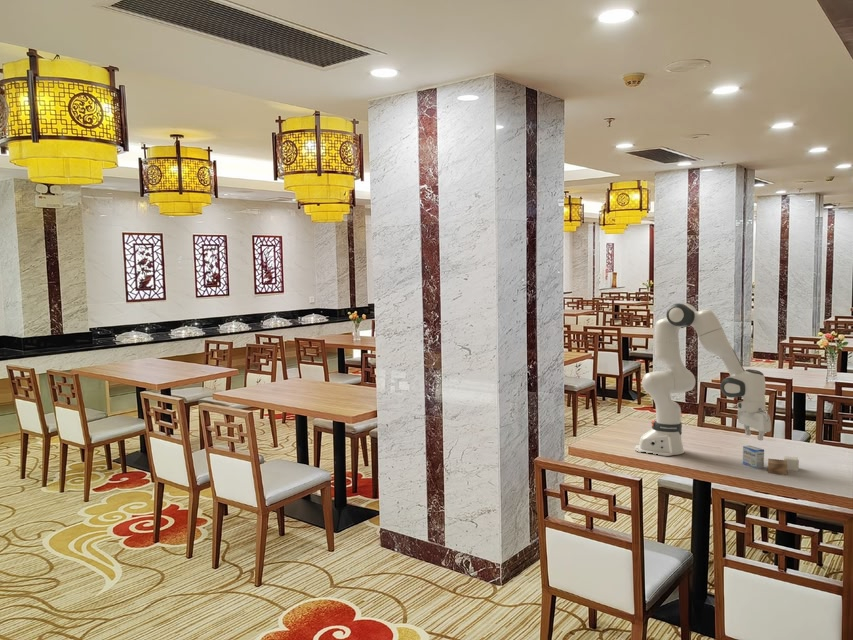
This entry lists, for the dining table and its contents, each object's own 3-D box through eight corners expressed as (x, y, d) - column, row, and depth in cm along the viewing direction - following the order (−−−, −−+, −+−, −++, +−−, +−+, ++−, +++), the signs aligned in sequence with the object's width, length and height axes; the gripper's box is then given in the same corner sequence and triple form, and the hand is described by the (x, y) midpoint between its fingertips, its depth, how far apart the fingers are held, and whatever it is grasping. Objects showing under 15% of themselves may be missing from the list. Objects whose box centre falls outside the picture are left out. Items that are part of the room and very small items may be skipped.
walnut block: (768, 474, 285) (768, 462, 285) (768, 469, 291) (768, 458, 291) (786, 476, 282) (787, 464, 282) (786, 471, 288) (786, 460, 288)
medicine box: (742, 465, 298) (742, 446, 298) (749, 463, 300) (750, 444, 299) (756, 469, 291) (756, 450, 290) (764, 468, 293) (764, 449, 292)
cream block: (785, 470, 289) (785, 459, 289) (784, 467, 294) (784, 456, 294) (798, 471, 287) (798, 460, 287) (797, 468, 292) (797, 457, 292)
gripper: (775, 410, 284) (775, 442, 284) (748, 402, 304) (748, 432, 305) (761, 411, 283) (760, 443, 284) (735, 402, 303) (735, 432, 304)
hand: (754, 437), depth 294 cm, fingers open, 8 cm apart
